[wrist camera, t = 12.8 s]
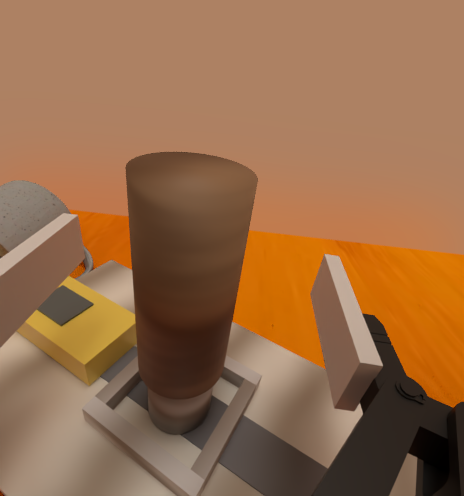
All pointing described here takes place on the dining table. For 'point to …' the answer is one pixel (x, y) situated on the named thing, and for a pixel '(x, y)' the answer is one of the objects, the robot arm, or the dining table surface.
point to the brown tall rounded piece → (185, 275)
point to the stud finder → (81, 330)
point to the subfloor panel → (159, 442)
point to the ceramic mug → (29, 215)
